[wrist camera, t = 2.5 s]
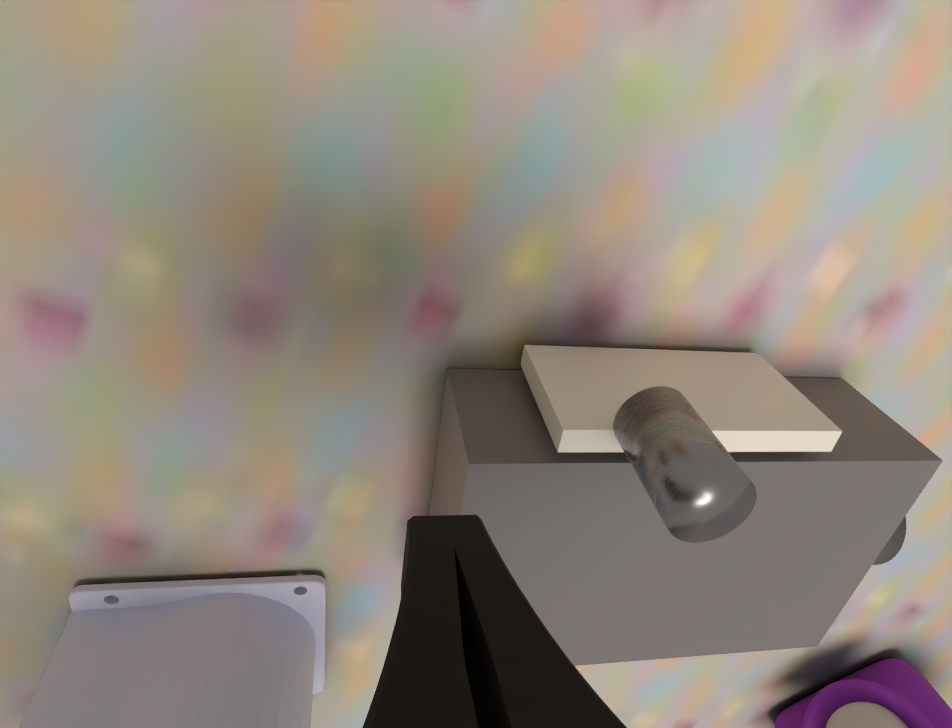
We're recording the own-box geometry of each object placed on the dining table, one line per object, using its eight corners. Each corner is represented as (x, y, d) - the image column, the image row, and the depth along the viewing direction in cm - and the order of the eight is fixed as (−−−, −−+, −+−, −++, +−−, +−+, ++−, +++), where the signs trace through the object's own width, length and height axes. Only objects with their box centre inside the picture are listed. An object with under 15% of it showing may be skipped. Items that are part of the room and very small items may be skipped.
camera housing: (422, 565, 26) (434, 676, 22) (447, 367, 21) (469, 462, 17) (780, 550, 30) (849, 643, 26) (876, 378, 25) (982, 459, 20)
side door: (520, 365, 21) (598, 549, 14) (532, 305, 20) (623, 474, 13) (750, 371, 23) (917, 536, 16) (773, 316, 22) (964, 470, 15)
